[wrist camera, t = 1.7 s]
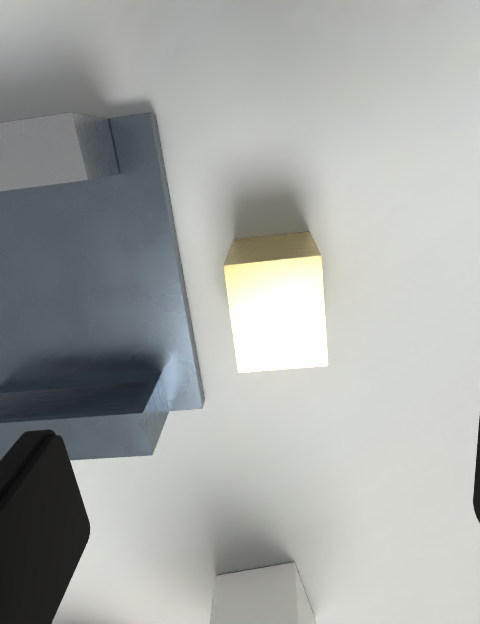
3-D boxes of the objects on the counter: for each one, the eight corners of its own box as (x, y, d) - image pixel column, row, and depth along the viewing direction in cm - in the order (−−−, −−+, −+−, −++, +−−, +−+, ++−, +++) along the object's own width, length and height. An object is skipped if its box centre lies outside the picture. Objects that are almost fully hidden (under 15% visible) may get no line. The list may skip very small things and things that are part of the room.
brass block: (309, 231, 23) (321, 255, 18) (315, 320, 25) (327, 365, 19) (233, 239, 23) (223, 265, 18) (244, 326, 25) (238, 372, 20)
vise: (155, 114, 21) (123, 105, 17) (204, 399, 27) (191, 452, 22) (-108, 151, 23) (-205, 153, 18) (-10, 415, 28) (-66, 468, 24)
